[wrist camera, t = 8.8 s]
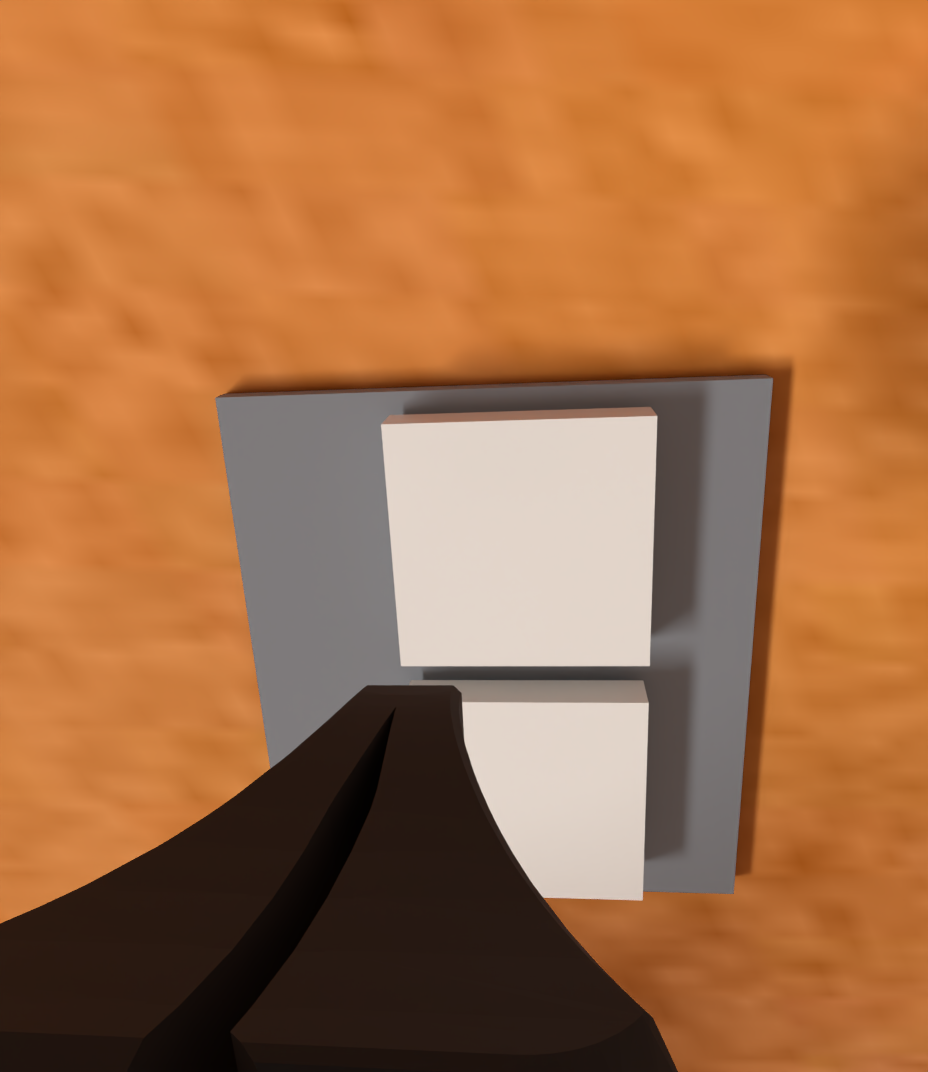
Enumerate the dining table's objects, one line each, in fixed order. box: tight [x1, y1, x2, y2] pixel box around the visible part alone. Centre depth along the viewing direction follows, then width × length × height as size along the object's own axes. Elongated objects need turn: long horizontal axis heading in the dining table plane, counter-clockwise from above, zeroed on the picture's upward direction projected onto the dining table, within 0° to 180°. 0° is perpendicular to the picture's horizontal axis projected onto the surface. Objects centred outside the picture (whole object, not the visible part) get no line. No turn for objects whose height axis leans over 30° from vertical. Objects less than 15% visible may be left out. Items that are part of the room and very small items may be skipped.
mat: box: [215, 375, 773, 894], centre depth 21 cm, size 14×13×1 cm
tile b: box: [381, 407, 657, 666], centre depth 19 cm, size 6×1×6 cm
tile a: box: [409, 680, 649, 900], centre depth 21 cm, size 6×1×6 cm
